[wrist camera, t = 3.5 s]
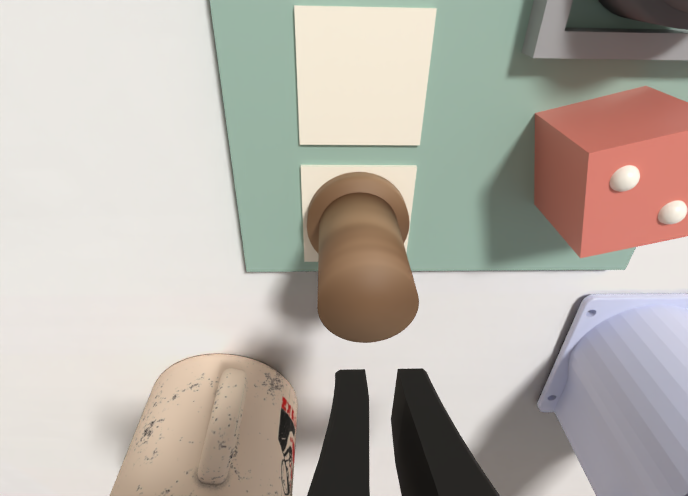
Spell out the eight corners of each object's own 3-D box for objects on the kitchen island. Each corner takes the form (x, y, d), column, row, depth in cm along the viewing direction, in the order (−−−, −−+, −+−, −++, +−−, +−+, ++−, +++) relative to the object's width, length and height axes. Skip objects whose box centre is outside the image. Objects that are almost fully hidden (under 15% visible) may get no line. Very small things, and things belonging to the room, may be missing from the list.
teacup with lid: (283, 449, 29) (263, 688, 20) (146, 430, 28) (50, 682, 18) (333, 328, 23) (338, 592, 14) (158, 293, 21) (21, 568, 12)
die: (631, 182, 18) (708, 239, 14) (534, 204, 18) (585, 264, 15) (646, 85, 16) (741, 123, 12) (534, 113, 16) (595, 157, 12)
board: (615, 259, 21) (637, 282, 20) (249, 261, 20) (243, 285, 19) (877, -306, 11) (963, -347, 10) (170, -342, 10) (144, -392, 9)
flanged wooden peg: (401, 257, 19) (425, 351, 15) (308, 258, 19) (303, 353, 15) (411, 171, 17) (444, 252, 12) (305, 171, 17) (299, 252, 12)
